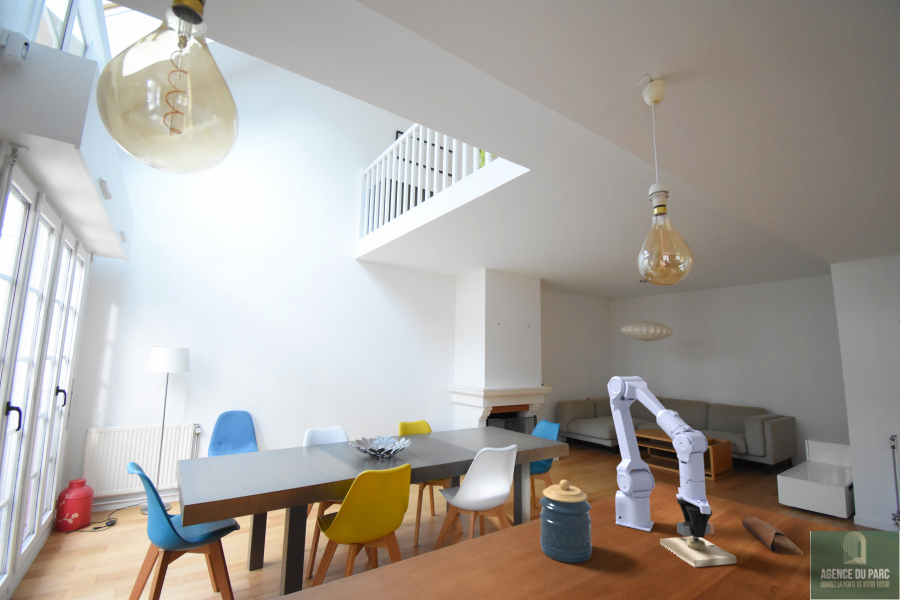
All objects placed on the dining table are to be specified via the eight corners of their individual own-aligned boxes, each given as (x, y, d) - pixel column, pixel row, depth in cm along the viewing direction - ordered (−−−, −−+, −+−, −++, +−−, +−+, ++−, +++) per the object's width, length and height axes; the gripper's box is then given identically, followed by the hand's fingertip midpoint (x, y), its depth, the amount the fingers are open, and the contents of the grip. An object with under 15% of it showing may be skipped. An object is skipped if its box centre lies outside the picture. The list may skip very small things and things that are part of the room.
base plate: (694, 567, 99) (693, 553, 99) (660, 544, 111) (659, 532, 111) (736, 563, 101) (735, 550, 102) (698, 541, 113) (698, 530, 113)
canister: (601, 551, 106) (598, 480, 109) (578, 570, 97) (576, 491, 99) (555, 536, 115) (554, 470, 117) (530, 551, 106) (529, 479, 108)
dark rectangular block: (677, 539, 107) (676, 522, 107) (707, 536, 109) (705, 519, 109) (684, 543, 104) (683, 526, 105) (714, 540, 106) (713, 523, 107)
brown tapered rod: (809, 557, 105) (792, 531, 107) (783, 568, 106) (766, 543, 108) (774, 529, 122) (759, 507, 124) (751, 539, 123) (737, 517, 125)
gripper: (665, 470, 116) (668, 521, 114) (687, 485, 102) (690, 544, 100) (692, 471, 115) (695, 523, 113) (718, 487, 101) (722, 546, 99)
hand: (695, 533), depth 107 cm, fingers closed on dark rectangular block, 4 cm apart
